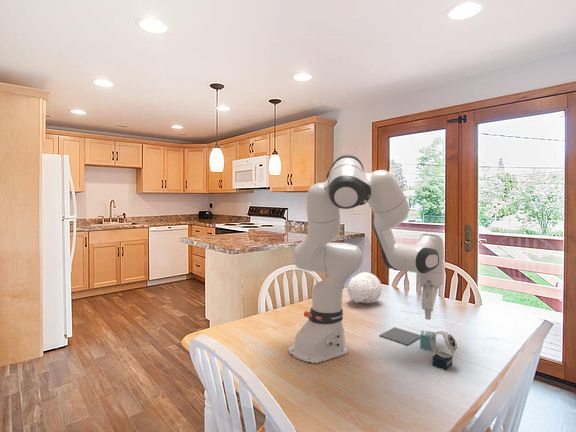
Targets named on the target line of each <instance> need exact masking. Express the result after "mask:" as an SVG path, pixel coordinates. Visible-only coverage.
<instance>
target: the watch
mask: <svg viewBox="0 0 576 432" xmlns="http://www.w3.org/2000/svg"><path fill="white" fill-rule="evenodd" d="M435 334H436V335H442V337H443V339H444V343H445V346H446V348H447V349H448V350H449V351H450V353H451V354H449V353H446V352H443V351H440V349H439V347H438V345H437V344H436V343H437V342H436V343H435V340H434V335H435ZM430 344H431V347H432V349H433V350H432V351H433V352H434V353H435V354H434V355H433V356H432V366H433V367H435V368H438V369H441V368H442V369H441V370H443V369H444V371H447V370H448V369H449V368H450V367H452V366H453V357H454V354H455V353H456V351H457V349H458V345H457V341H456V339H455V338H454V336H453V335H452V334H450V333H448V332H446V331H444V330H443V331H442V330H438V331H436V332H435V333H434V334H433V335H432V336H431V338H430Z"/></svg>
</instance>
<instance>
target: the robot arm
mask: <svg viewBox="0 0 576 432" xmlns="http://www.w3.org/2000/svg"><path fill="white" fill-rule="evenodd" d="M364 171H365V170H364V165H363V163H362V161H361V160H360V159H359V158H358V157H356V156H354V155H353V154H343V155H340V156H339V157H337V159H335V160H334V162H333V164H332V165H331V166H330V169H329V170H328V172H327V174H326V180H325V181H324V182H317V183H314V184H313V185H311V186H310V187H309V189H308V191H307V197H306V215H307V225H308V226H307V235H306V237H305V238H304V239H303V240H302V241H301V242H299V243H298V244H297V245H296V246H295V247H294V248H293V252H292V260H293V263H294V265H295V267H296V268H297V269H299V270H303V271H308V272H315V273H316V272H318V273H321V272H322V273H327V274H328V277H326V278H325V279H323V280H320V281H318V282H317V283H315V284H314V285H313V286H312V289H311V308H310V311H307V310H306V311H305V310H304V312H303V316H304V317H305V318H308V319H307V321H306V322H305V323H304V324H303V326H301V328H300V329H299V331H298V332H296V335H295V339H294V343H293V344H292V345H291V346H289V347H288V349H287V351H289V352H288V354H290V355H291V354H292V355H293V356H292V355H291V356H292V357H294V358H296V359H298V360H300V361H302V360H303V361H302V362H305V361H306V362H305V363H308V362H311V363H310V364H314V363H316V364H318V363H319V362H320V363H323V362H326V361H328V360H332V359H335V358H338V357H341V356H344V355H347V354H348V353H349V352H348V349H347V345H346V339H345V338H346V337H345V336H346V335H345V328H344V325H343V318H344V317H343V316H344V311H343V308H342V307H343V306H342V305H343V290H344V287H345V285H346V283H347V282H348V279H350V277H352V275H353V274H355V273H357V272H358V271H359V270H360V268H361V267H362V265H363V261H364V258H363V257H364V256H363V253H362V250H361V249H360V247H358V246H357V245H356V244H355V245H354V244H352V243H346V242H333V241H334V240H335V239H336V238H338V236H339V235H340V232H341V213H340V212H341V211H340V209H342V210H348V209H349V210H350V209H353V208H356V207H359V206H363V205H365V204H368V205H369V207H370V209H371V211H372V213H373V214H372V215H371V225H372V228H373V232H374V235H375V237H376V240H377V242H378V246H379V248H380V251H381V257H382V261H383V264H384V265H385V267H386V268H388V269H390V270H392V269H393V270H402V271H405V272H409V273H416V275H417V277H416V279H417V281H416V282H418V283H419V284H420V287H421V288H422V289H421V292H422V293H421V309H422V310H424V315H425V316H424V319H425V320H427V321H429V320H430V321H431V318H432V312H433V311H434V306H435V303H436V298H437V295H438V292H439V291H438V290H439V289H440V286H442V285H443V284H444V267H443V264H444V258H445V254H444V253H445V252H444V251H445V249H444V241H443V238H442V236H439V235H436V234H427V233H425V234H424V233H422V234H420V235H419V238H418V239H419V240H418V241H417V242H416V243H415V244H409V243H408V244H407V243H402V242H400V241H398V240H396V239H395V236H394V234H393V231H392V229H393V228H396V227H398V226H400V225H401V224H403V222H404V221H405V220H406V219H407V217H408V215H409V212H410V206H409V201H408V199H407V197H406V195H405V193H404V191H403V189H402V188H401V186H400V184H399V183H398V182H397V180H396V179H395V178H394V176H393V175H392V174H391V173H390V172H389V171H388V170H385V169H378V170H374V171H372V172H364ZM322 361H323V362H322Z"/></svg>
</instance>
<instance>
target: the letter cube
mask: <svg viewBox="0 0 576 432" xmlns="http://www.w3.org/2000/svg"><path fill="white" fill-rule="evenodd" d="M434 333H436V332H434V331H428V330H421V332H420V334H419V335H420V339H419V347H420V349H423V350H429V351H433V349H432V347H431V344H430V338H431V336H432V335H433V334H434ZM436 339H437V334H435V335H434V340H435V343H437V342H436V341H437V340H436Z"/></svg>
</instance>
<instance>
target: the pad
mask: <svg viewBox="0 0 576 432" xmlns="http://www.w3.org/2000/svg"><path fill="white" fill-rule="evenodd" d="M420 335H421V334H417V333H414V332H411V331H408V330H405V329H401V328H398V327H392V328H390V329H388V330H386V331H384V332H382V333H381V334H379V335H378V337H381V338H383V339H387V340H389V341H392V342H395V343H398V344H401V345H403V346H407V347H408V346H410V345H411V344H413V343H415V342H416V341H418V340H420Z"/></svg>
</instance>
